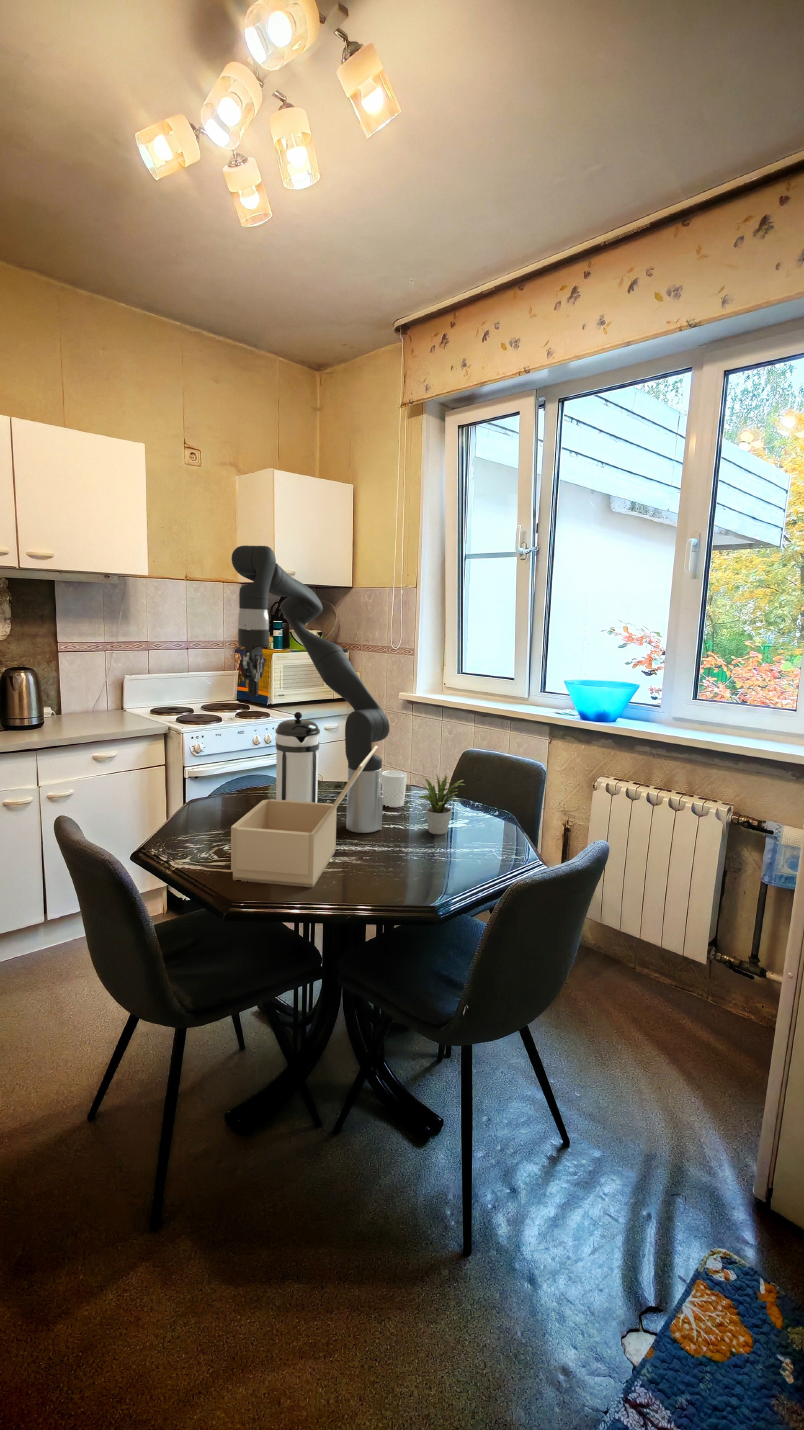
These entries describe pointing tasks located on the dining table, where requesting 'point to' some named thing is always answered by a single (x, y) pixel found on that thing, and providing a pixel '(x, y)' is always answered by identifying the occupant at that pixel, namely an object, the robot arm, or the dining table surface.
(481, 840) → the dining table surface
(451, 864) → the dining table surface
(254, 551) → the robot arm
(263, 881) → the carton
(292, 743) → the coffee press
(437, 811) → the house plant
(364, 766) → the lid flap
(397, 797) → the white cup
